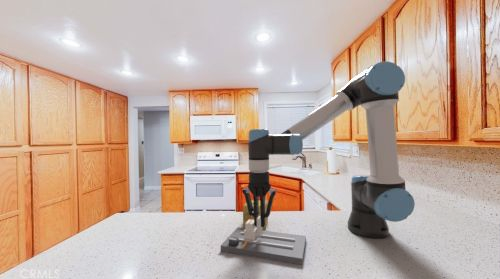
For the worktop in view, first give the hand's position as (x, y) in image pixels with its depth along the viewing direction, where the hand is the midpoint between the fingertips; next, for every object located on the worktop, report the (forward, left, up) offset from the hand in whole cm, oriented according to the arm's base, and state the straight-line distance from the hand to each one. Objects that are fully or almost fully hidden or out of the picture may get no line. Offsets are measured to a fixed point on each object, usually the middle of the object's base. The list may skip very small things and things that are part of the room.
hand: (259, 234), depth 78 cm
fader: (+4, 0, -2) cm, 4 cm away
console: (-2, 0, -4) cm, 4 cm away
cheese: (+7, -18, -4) cm, 20 cm away
